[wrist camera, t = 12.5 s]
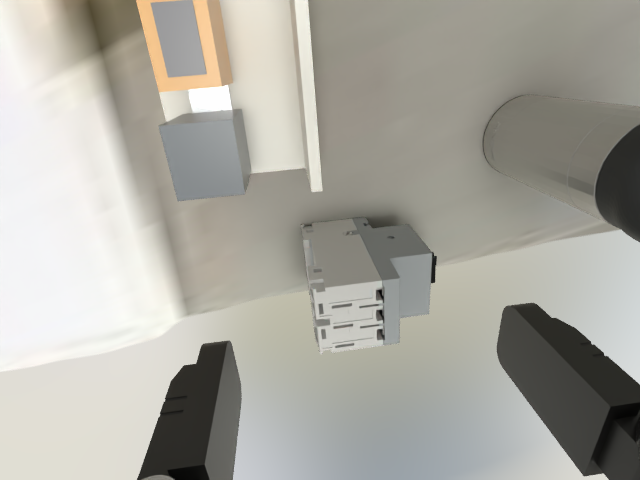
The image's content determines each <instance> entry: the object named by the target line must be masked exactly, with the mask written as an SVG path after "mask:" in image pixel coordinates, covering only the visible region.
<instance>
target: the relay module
mask: <svg viewBox="0 0 640 480" xmlns="http://www.w3.org/2000/svg"><path fill="white" fill-rule="evenodd" d="M136 2H137V6H138V10H139V14H140V18H141V22H142V26H143V30H144V34H145V38H146V42H147V46H148V50H149V54H150V58H151V62H152V66H153V70H154V74H155V78H156V82H157V86H158V90H159V92H168V91H179V90H190V89H202V88H213V87H223V86H226V85H228V84H231V83H233V79H232V73H231V67H230V61H229V55H228V49H227V43H226V37H225V31H224V25H223V19H222V13H221V7H220V1H219V0H136Z"/></svg>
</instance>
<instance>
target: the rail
mask: <svg viewBox="0 0 640 480" xmlns="http://www.w3.org/2000/svg"><path fill="white" fill-rule="evenodd" d="M188 93H189V98H190V102H191V107H192V112H193V113H201V112H212V111H223V110H233V108H232V102H231V96H230V90H229V85H226V86H223V87H213V88H202V89H190V90H188Z"/></svg>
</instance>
